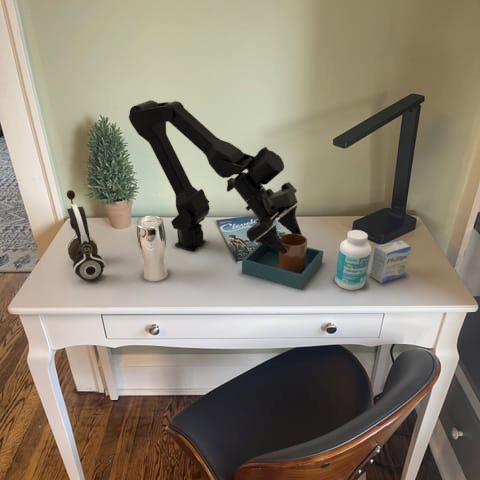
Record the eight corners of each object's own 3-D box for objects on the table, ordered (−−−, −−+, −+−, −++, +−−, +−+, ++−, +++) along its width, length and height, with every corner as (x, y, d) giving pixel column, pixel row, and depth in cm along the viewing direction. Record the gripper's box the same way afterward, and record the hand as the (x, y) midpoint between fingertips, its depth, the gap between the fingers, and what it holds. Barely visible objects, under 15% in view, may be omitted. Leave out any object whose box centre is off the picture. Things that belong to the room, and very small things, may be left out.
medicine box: (380, 284, 123) (386, 253, 118) (369, 275, 126) (374, 245, 121) (405, 276, 126) (412, 246, 121) (393, 268, 129) (399, 238, 124)
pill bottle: (339, 292, 120) (347, 243, 112) (330, 276, 126) (337, 228, 118) (369, 289, 121) (378, 240, 113) (358, 274, 127) (367, 226, 119)
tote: (241, 273, 127) (241, 260, 125) (265, 250, 137) (266, 237, 135) (301, 290, 121) (302, 276, 119) (322, 264, 131) (323, 250, 129)
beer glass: (173, 270, 129) (168, 217, 120) (161, 284, 123) (155, 229, 114) (149, 266, 130) (143, 213, 121) (137, 279, 125) (128, 225, 116)
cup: (273, 273, 127) (275, 242, 122) (285, 261, 132) (287, 231, 127) (297, 280, 125) (300, 248, 119) (308, 268, 129) (311, 237, 124)
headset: (68, 257, 134) (51, 186, 122) (97, 252, 137) (83, 182, 125) (78, 289, 122) (60, 214, 110) (110, 282, 124) (96, 208, 112)
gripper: (258, 189, 109) (302, 245, 111) (292, 163, 122) (330, 213, 125) (228, 215, 117) (269, 267, 119) (263, 188, 130) (299, 235, 132)
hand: (293, 244), depth 124 cm, fingers open, 9 cm apart
